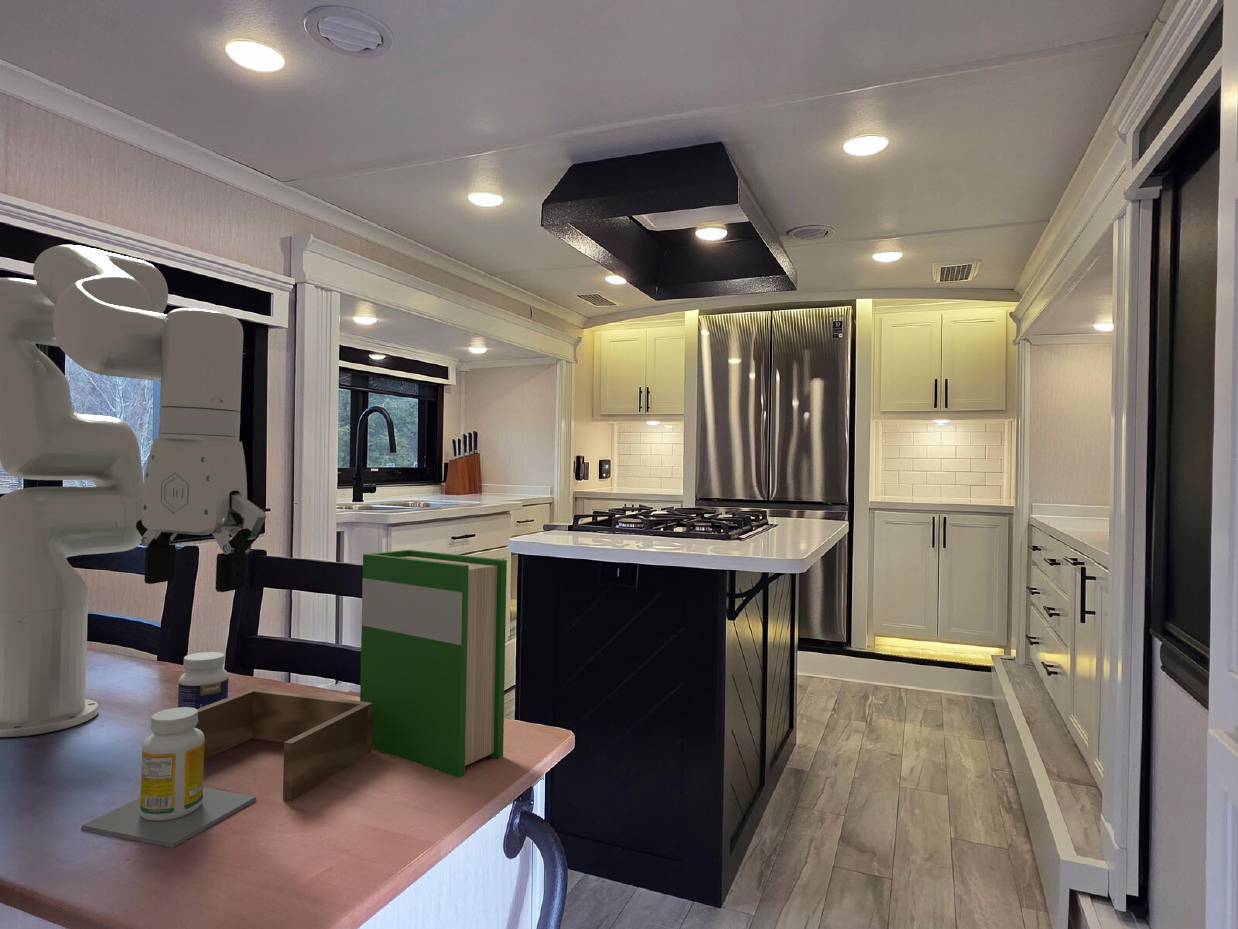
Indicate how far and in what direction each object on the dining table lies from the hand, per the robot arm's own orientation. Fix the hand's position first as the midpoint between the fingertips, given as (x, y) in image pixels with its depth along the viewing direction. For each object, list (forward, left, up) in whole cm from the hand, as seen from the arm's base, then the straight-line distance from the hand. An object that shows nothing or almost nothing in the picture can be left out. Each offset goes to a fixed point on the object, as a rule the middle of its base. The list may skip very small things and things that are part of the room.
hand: (194, 586), depth 77 cm
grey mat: (+3, -5, -22) cm, 23 cm away
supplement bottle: (+3, -5, -22) cm, 22 cm away
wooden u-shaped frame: (+3, +8, -22) cm, 24 cm away
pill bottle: (-13, +14, -22) cm, 30 cm away
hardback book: (+18, +18, -22) cm, 34 cm away
